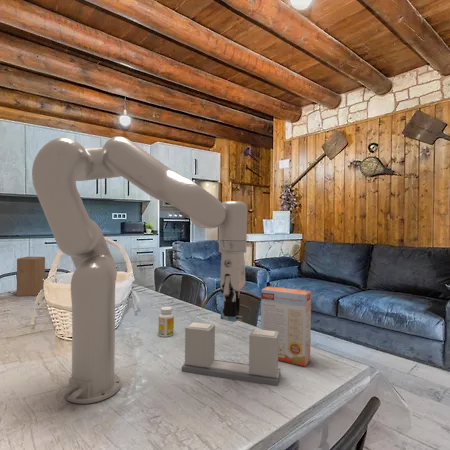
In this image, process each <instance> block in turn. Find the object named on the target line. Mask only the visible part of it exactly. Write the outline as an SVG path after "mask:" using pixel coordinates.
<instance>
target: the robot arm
mask: <svg viewBox="0 0 450 450" xmlns="http://www.w3.org/2000/svg"><path fill="white" fill-rule="evenodd" d="M31 177H32V184H33V185H32V186H33V189H34V190H35V194H36V196H37V198H38V201H39V204H40V205H41V209H42V210H43V213H44V216H45V218H46V221H47V223H48V225H49V228H50V230H51V232H52V235H53V238H54V240H55V244H56V245H57V247H58V249H59V250H60V251H61V253H63V254H65V255H67V256H69V257H70V258H71V261H72V263H73V265H74V267H75V270H74V271H73V273H72V276H71V279H70V298H71V315H72V316H71V328H72V329H71V335H72V336H71V339H72V340H71V341H72V342H71V377H70V378H68V384H66V386H65V387H64V388H63V389H62V390H60V391H58V393H56V395H55V398H56V401H58V402H60V403H61V402H63V401H64V400H66V401H69V402H70V403H74V404H84V405H86V404H87V405H88V404H94V403H98V402H101V401H105V400H106V399H108V398H111V397H112V396H114V395H115V394H117V393H118V392H119V390H120V389H121V387H122V380H121V378H120V376H118V375H116V374H115V369H116V367H115V361H116V360H115V356H116V353H115V349H116V346H115V345H116V283H117V282H116V280H117V275H118V269H117V265H116V263H115V261H114V258H113V255H112V254H111V251H110V249H109V247H108V243H107V241H106V239H105V236H104V234H103V231H102V230H101V228H100V226H99V224H98V223H97V222H95V221H94V220H93V219H91V218H90V216H89V214H88V211H87V209H86V207H85V205H84V202H83V199H82V197H81V194H80V193H79V190H78V189H77V185H76V182H83V181H85V182H86V181H93V180H103V179H105V180H106V179H112V178H113V179H114V178H118V177H122V178H123V179H124V180H126V181H128V182H129V183H130V184H132V185H134V186H135V187H137V188H139V189H140V190H141V191H143V192H144V193H146V194H147V195H148V196H150V197H151V198H154V199H156V200H157V201H161V202H164V203H167V204H169V205H171V206H173V207H174V208H176V209H178V210H180V211H181V212H183V213H184V214H186V215H187V216H188V217H189V219H190V222H191V223H192V225H194V226H196V227H198V228H200V229H210V230H211V229H216V228H218V253H221V257H220V258H221V260H220V272H219V273H220V275H219V276H220V277H219V278H220V279H219V281H220V284H219V285H220V286H221V289H222V290H224V292H223V293H222V295H223V294H224V308H223V309H224V316H229V317H235V316H236V310H238V311H239V312H240V310H241V309H240V306H241V305H240V302H241V301H240V300H241V298H240V295H241V294H240V292H241V291H240V290H241V289H243V288H244V287H245V286H246V261H245V254H246V253H247V232H248V231H247V230H248V229H247V228H248V227H247V225H248V224H247V223H248V222H247V221H248V209H247V208H248V207H247V204H246V202H244V201H237V200H236V201H235V200H233V201H232V200H230V201H229V200H227V201H222V202H221V201H220V200H219V199H218V198H217V197H215V196H214V195H213V194H211V193H210V192H209V191H207V190H206V189H204V188H203V187H202V186H200V185H199V184H197V183H196V182H194V181H192V180H191V179H189V178H187V177H185V176H183V175H182V174H180V173H178V172H177V171H175V170H173V169H172V168H170V167H168V166H167V165H165V164H164V163H163V162H161V161H160V160H159V159H157V158H155V157H154V156H153V155H151V154H150V153H148V152H147V151H146V150H145V149H143V148H142V147H140V146H139V145H138V144H136V143H135V142H133V141H132V140H130V139H129V138H127V137H125V136H120V135H119V136H117V135H116V136H112V137H111V138H109V139H108V140H106V141H105V143H104V145H103V146H100V147H86V148H85V147H84V146H83V145H82V144H81V143H79V142H78V141H77V140H74V139H72V138H69V137H57V138H54V139H52V140H50V141H48V142H47V143H45V144H44V145H43V146H42V147H41V148H40V150H39V151H38V152H37V154H36V156H35V157H34V160H33V163H32V169H31ZM224 284H225V286H224ZM230 287H231V288H233V290H230ZM223 288H224V289H223ZM221 289H220V290H221ZM235 290H236V291H239V293H237V294H236V302H235ZM230 292H232V293H230Z"/></svg>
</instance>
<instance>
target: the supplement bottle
mask: <svg viewBox="0 0 450 450" xmlns="http://www.w3.org/2000/svg"><path fill="white" fill-rule="evenodd" d="M174 319H175V316H174V313H173V307H171V306H163V307H161V308H160V313H159V315H158V336H159V337H162V338H168V337H172V336H173V335H174V332H175V331H174V330H175V328H174V326H175V324H174V323H175V322H174V321H175V320H174Z"/></svg>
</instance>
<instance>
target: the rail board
mask: <svg viewBox="0 0 450 450" xmlns="http://www.w3.org/2000/svg"><path fill="white" fill-rule="evenodd" d="M184 329H185V330H184V331H185V333H184V334H185V335H184V337H185V338H184V362H183V365H181V372H185V373H192V374H198V375H204V376H209V377H210V376H211V377H216V378H225V379H230V380H237V381H243V382H244V381H245V382H248V383H249V382H250V383H254V384H255V383H256V384H263V385H270V386H276V387H278V385H279V381H280V380H279V379H280V376H281V368H279V360H278V337H279V332H276V331H269V330H261V328H260V329H257V328H253V329H251V332H250V333H249V344H248V345H249V347H248V363H241V362H233V361H227V360H220V359H215V353H216V351H215V349H216V347H215V346H216V345H215V344H216V342H215V341H216V339H215V338H216V336H215V335H216V334H215V333H216V324H211V323H202V322H193V321H192V322H191V323H189V324H188V325H187V326H186V327H185V328H184Z"/></svg>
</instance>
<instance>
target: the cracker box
mask: <svg viewBox="0 0 450 450" xmlns="http://www.w3.org/2000/svg"><path fill="white" fill-rule="evenodd" d="M260 295H261V296H260V297H261V299H260V302H261V303H260V305H261V307H260V330H269V331H276V332H279V337H278V361H281V362H283V363H288V364H292V365H296V366H299V367H300V366H301V367H306V366H307V364H309V362H310V360H311V328H312V324H311V323H312V322H311V321H312V319H311V317H312V291H310V290H303V289H294V288H288V287H287V288H286V287H276V286H270V285H269V286H266V287H264V288H262V289H261V294H260Z"/></svg>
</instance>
